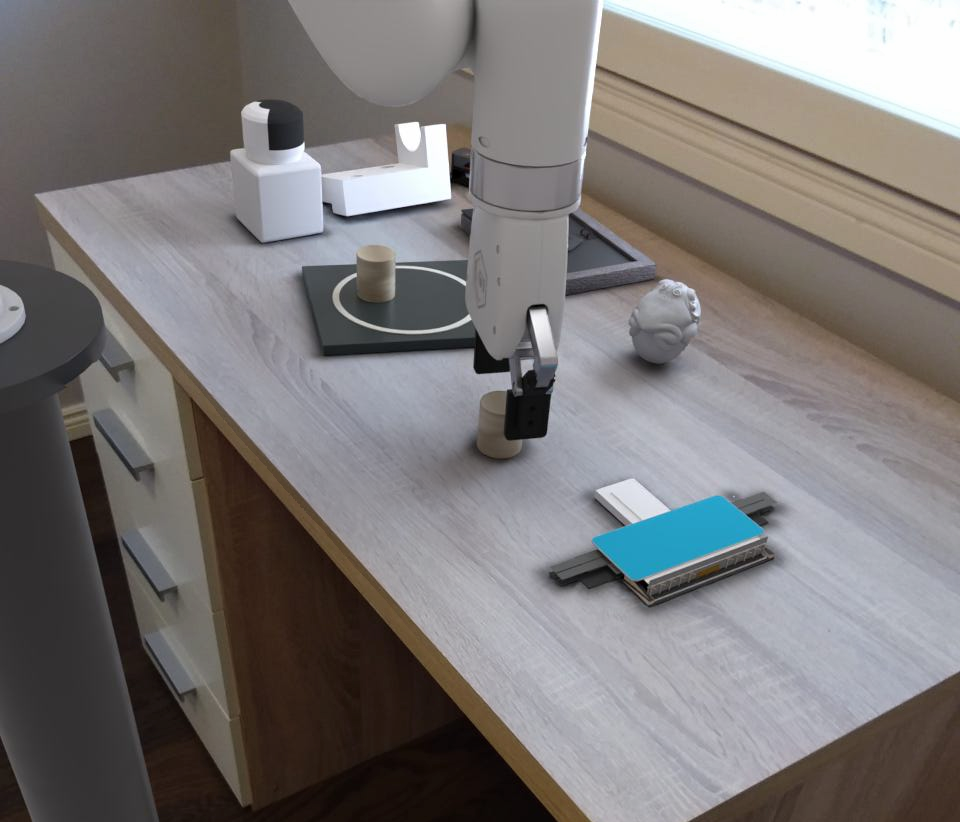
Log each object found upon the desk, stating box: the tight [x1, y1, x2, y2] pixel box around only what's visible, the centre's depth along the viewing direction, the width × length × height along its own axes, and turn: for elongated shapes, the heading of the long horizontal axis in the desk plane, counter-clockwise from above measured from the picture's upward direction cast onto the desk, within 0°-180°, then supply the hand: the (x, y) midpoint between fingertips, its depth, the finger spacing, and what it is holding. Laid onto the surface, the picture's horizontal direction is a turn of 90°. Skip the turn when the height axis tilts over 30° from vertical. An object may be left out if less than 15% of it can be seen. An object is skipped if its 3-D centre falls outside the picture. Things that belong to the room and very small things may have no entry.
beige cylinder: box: [476, 390, 523, 459], centre depth 83 cm, size 4×4×4 cm
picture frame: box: [460, 207, 658, 296], centre depth 111 cm, size 13×2×18 cm
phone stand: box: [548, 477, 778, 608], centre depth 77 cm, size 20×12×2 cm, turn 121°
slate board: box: [301, 259, 475, 356], centre depth 100 cm, size 18×16×1 cm
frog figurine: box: [628, 278, 702, 364], centre depth 94 cm, size 6×7×7 cm
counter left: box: [355, 244, 397, 303], centre depth 98 cm, size 4×4×4 cm
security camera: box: [229, 98, 324, 244], centre depth 108 cm, size 7×7×12 cm
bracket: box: [321, 121, 452, 217], centre depth 116 cm, size 13×7×8 cm, turn 121°
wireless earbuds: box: [449, 147, 471, 187], centre depth 123 cm, size 5×7×3 cm, turn 57°
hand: (508, 402), depth 82 cm, fingers open, 9 cm apart
